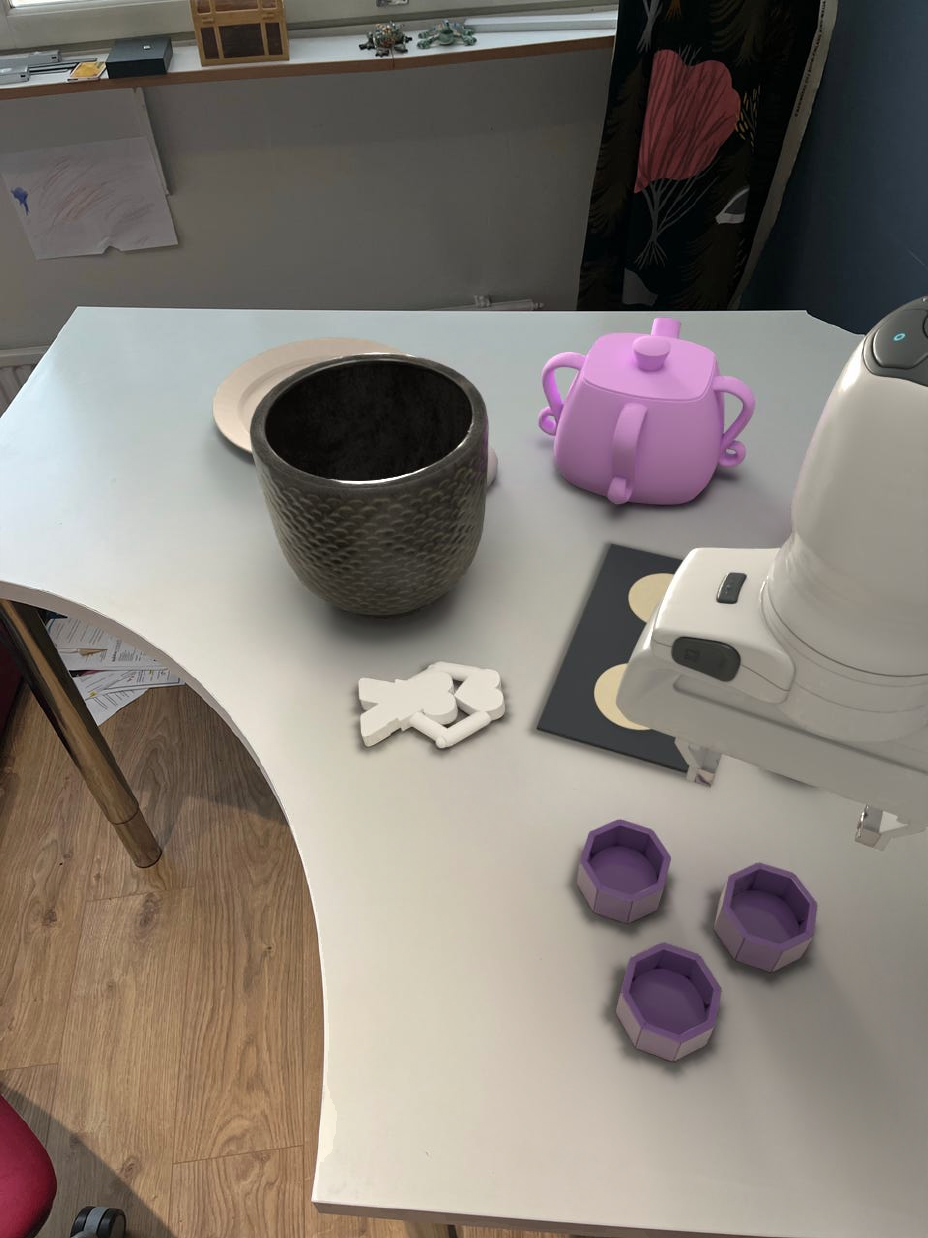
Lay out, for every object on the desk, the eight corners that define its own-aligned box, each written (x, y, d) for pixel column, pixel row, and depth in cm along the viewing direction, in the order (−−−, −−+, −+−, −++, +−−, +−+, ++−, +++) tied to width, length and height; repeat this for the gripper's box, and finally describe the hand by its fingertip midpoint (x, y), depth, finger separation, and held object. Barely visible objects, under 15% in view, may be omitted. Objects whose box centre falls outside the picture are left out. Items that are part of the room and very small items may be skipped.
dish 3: (808, 903, 66) (820, 881, 64) (797, 982, 62) (810, 961, 60) (724, 876, 68) (733, 853, 65) (708, 951, 64) (717, 930, 61)
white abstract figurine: (511, 738, 76) (508, 723, 74) (367, 764, 76) (362, 749, 74) (495, 657, 82) (493, 642, 80) (362, 681, 82) (357, 666, 80)
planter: (471, 503, 97) (468, 340, 83) (506, 641, 84) (509, 474, 70) (283, 526, 95) (248, 363, 82) (288, 670, 82) (247, 505, 68)
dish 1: (670, 859, 69) (676, 836, 66) (651, 932, 65) (658, 910, 63) (592, 834, 70) (595, 811, 68) (569, 904, 67) (572, 882, 64)
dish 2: (717, 984, 62) (727, 963, 60) (700, 1072, 59) (709, 1054, 56) (630, 953, 64) (636, 932, 62) (608, 1038, 60) (613, 1019, 58)
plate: (409, 484, 100) (408, 469, 98) (184, 465, 103) (179, 451, 101) (448, 357, 117) (448, 343, 115) (254, 345, 120) (251, 331, 118)
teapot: (595, 535, 93) (608, 416, 83) (515, 423, 107) (517, 308, 96) (758, 489, 98) (790, 370, 87) (661, 387, 111) (679, 273, 101)
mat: (752, 578, 89) (753, 575, 88) (704, 778, 74) (705, 775, 73) (610, 545, 92) (611, 542, 92) (536, 729, 77) (536, 726, 77)
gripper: (1108, 667, 41) (985, 829, 51) (660, 539, 47) (630, 705, 57) (1106, 777, 37) (974, 928, 47) (619, 621, 43) (595, 784, 53)
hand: (783, 805), depth 52 cm, fingers open, 8 cm apart
